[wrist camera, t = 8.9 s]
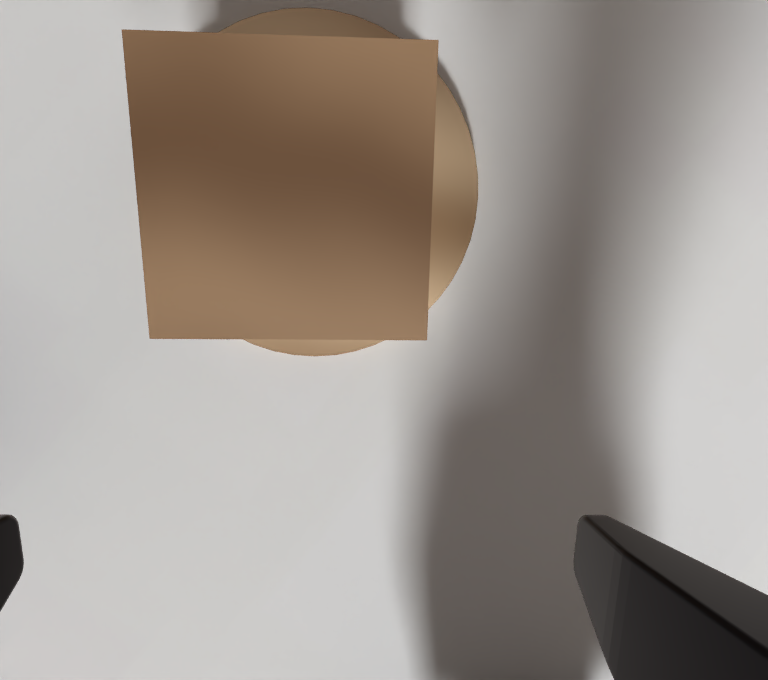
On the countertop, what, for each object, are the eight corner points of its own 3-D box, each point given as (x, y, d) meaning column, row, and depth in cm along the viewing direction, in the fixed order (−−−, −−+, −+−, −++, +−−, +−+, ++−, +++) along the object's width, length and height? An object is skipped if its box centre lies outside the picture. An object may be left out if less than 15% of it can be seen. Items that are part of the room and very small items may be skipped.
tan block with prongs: (402, 290, 19) (426, 340, 12) (226, 288, 18) (149, 338, 12) (406, 103, 17) (438, 40, 11) (215, 98, 17) (121, 29, 10)
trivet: (466, 351, 20) (469, 356, 19) (162, 351, 20) (156, 356, 19) (483, 19, 17) (488, 13, 17) (131, 8, 17) (123, 1, 16)
